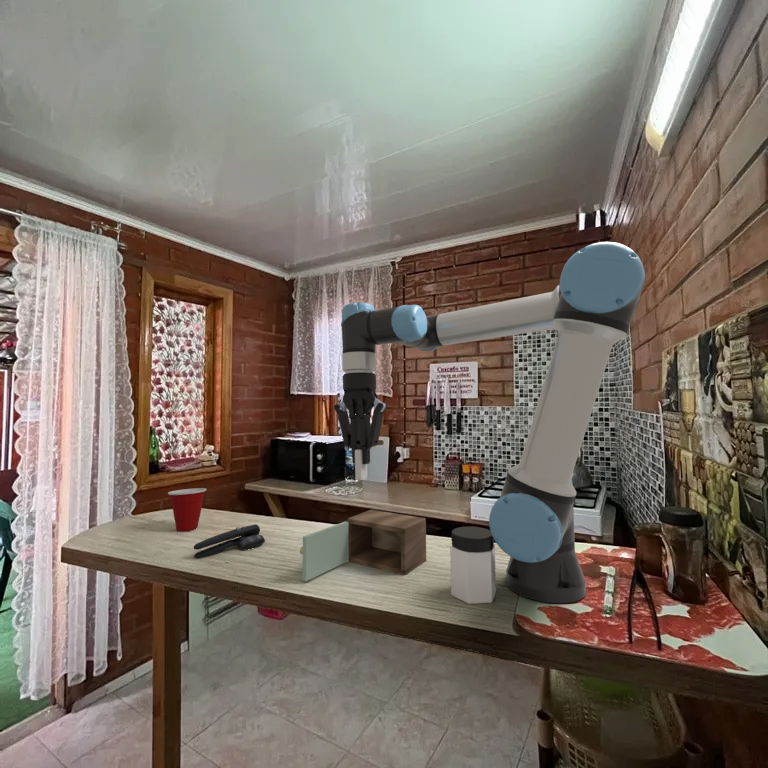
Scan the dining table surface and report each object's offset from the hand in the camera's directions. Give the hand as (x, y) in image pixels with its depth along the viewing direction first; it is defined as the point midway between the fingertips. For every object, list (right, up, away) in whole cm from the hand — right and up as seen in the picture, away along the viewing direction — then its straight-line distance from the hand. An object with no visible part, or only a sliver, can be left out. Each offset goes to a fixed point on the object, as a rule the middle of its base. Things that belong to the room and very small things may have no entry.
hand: (361, 478), depth 92 cm
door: (-8, -21, +1) cm, 22 cm away
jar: (+23, -20, -11) cm, 32 cm away
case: (+6, -21, +7) cm, 23 cm away
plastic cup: (-55, -23, +35) cm, 69 cm away
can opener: (-35, -23, +16) cm, 45 cm away
